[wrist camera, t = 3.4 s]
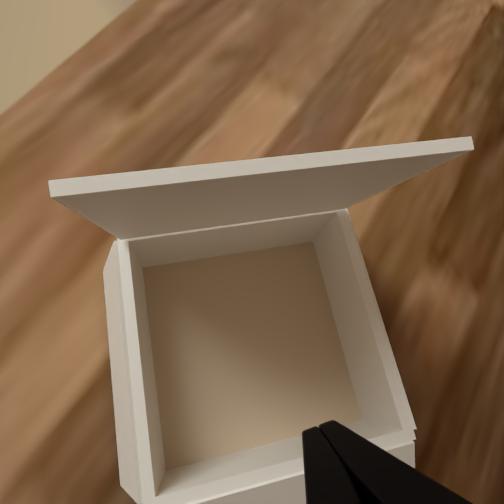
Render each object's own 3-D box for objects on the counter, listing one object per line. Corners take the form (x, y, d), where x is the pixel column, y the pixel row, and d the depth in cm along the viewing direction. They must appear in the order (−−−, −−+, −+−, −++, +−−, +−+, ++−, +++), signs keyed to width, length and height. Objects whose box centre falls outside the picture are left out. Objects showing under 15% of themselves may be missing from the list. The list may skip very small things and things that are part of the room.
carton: (425, 522, 20) (498, 568, 15) (134, 618, 17) (107, 713, 12) (339, 232, 25) (371, 198, 20) (105, 268, 22) (78, 237, 17)
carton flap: (343, 209, 19) (474, 149, 11) (120, 239, 17) (50, 197, 8) (342, 200, 19) (470, 133, 11) (119, 229, 17) (47, 176, 8)
